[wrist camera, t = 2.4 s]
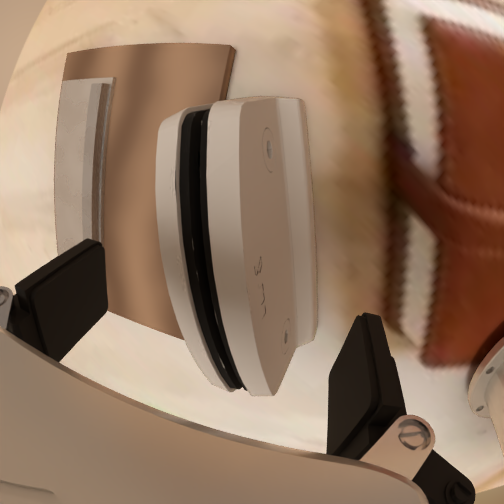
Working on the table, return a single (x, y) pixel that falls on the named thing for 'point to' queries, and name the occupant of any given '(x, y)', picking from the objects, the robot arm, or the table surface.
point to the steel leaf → (81, 160)
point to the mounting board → (144, 159)
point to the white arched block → (239, 236)
